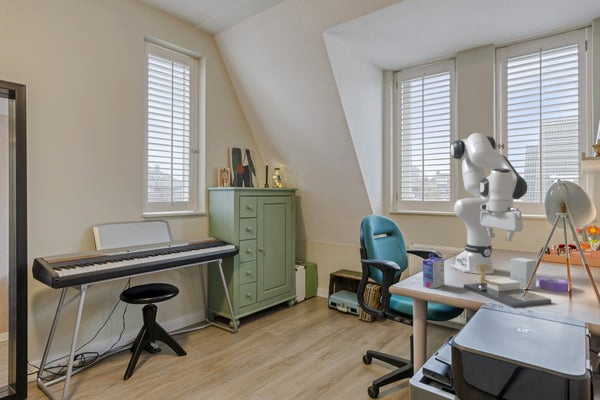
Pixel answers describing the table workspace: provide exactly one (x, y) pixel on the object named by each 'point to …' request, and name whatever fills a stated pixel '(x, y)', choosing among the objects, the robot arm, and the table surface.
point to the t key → (482, 269)
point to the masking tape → (553, 284)
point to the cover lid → (505, 284)
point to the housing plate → (509, 296)
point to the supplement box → (523, 272)
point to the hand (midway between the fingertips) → (499, 239)
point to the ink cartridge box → (433, 272)
